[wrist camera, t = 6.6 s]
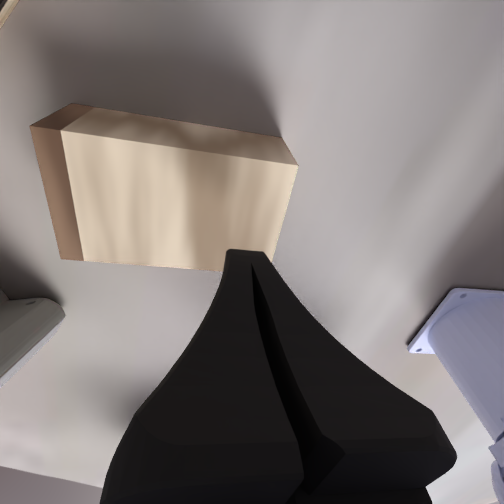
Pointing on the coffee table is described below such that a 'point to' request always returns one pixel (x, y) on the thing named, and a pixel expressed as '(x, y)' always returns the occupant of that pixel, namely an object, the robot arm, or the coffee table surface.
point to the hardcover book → (6, 9)
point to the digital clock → (25, 330)
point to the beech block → (160, 188)
